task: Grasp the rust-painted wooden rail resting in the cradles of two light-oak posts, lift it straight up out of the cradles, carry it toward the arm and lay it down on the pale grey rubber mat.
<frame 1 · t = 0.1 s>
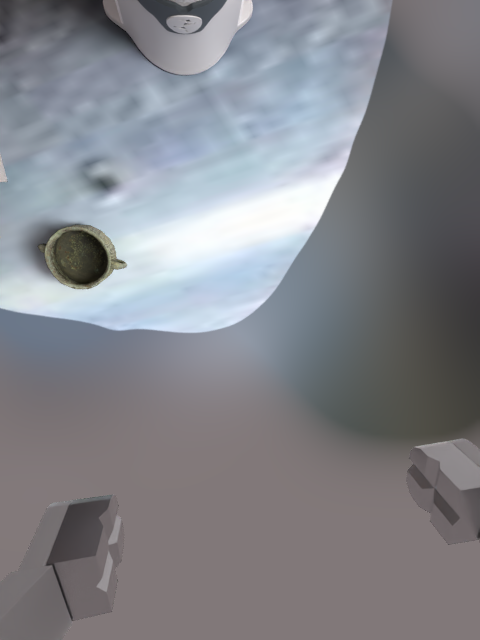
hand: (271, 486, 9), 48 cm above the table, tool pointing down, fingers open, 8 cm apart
vessel: (90, 252, 52), on the table
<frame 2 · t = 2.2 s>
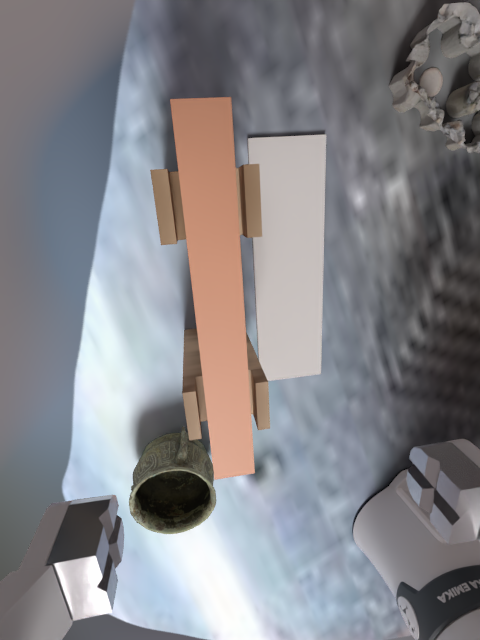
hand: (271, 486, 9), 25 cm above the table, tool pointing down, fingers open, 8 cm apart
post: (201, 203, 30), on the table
vessel: (175, 456, 40), on the table
mat: (288, 271, 34), on the table
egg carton: (441, 92, 31), on the table
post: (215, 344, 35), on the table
rail: (217, 310, 23), point 10 cm above the table, touching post, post
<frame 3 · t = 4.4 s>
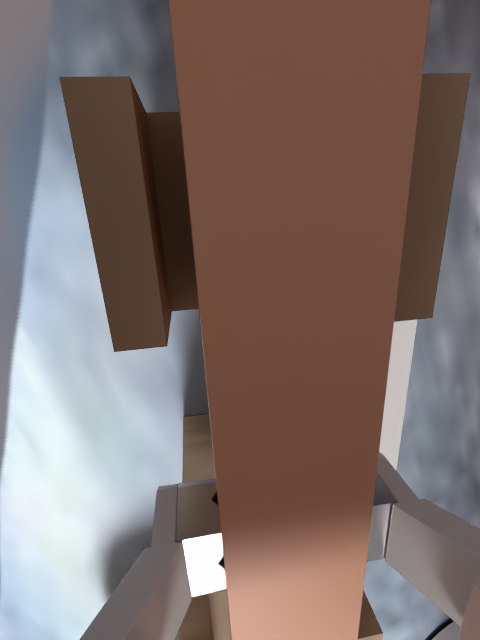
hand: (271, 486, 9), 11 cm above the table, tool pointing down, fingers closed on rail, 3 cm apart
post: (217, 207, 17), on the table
mat: (359, 322, 20), on the table
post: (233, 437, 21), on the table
rail: (266, 466, 10), point 10 cm above the table, touching gripper, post, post
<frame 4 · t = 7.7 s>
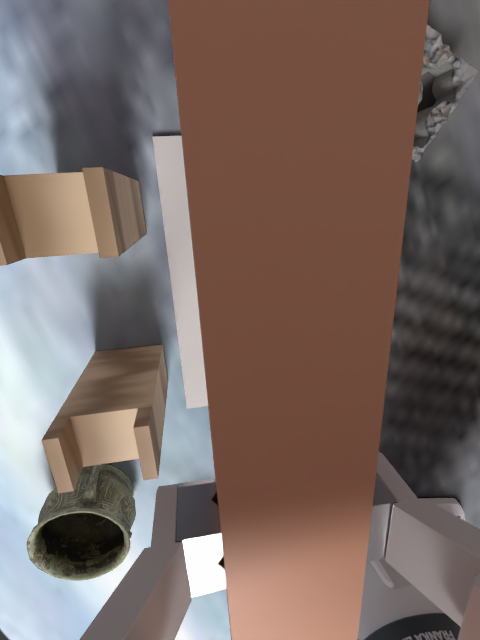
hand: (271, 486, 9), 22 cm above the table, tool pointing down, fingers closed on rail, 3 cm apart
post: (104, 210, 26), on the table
vessel: (97, 488, 36), on the table
mat: (212, 287, 30), on the table
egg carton: (373, 90, 27), on the table
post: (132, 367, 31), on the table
rail: (266, 465, 10), point 22 cm above the table, touching gripper
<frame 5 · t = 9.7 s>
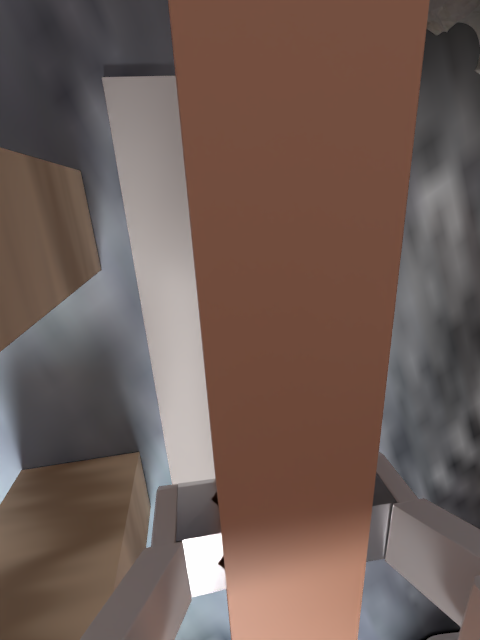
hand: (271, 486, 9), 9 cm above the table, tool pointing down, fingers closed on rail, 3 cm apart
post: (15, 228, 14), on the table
mat: (223, 357, 17), on the table
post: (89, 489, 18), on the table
rail: (266, 465, 10), point 8 cm above the table, touching gripper
when the fingers open (3 cm above the table, at t = 11.3 s): rail drops 2 cm, resting on mat.
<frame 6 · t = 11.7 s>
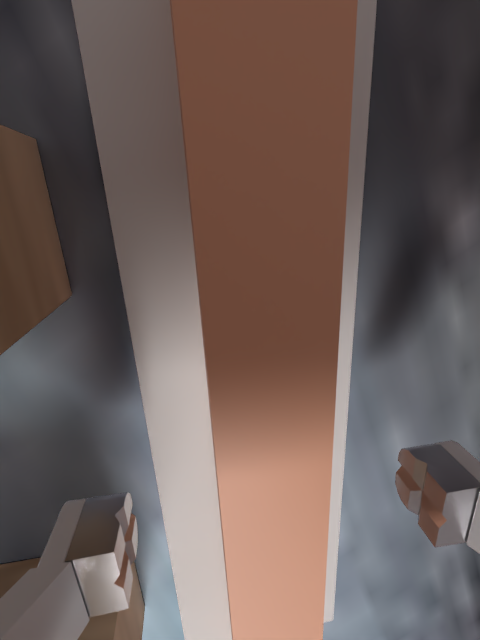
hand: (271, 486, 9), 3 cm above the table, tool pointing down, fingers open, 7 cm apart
mat: (250, 417, 12), on the table
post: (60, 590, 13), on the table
rail: (254, 423, 12), resting on mat
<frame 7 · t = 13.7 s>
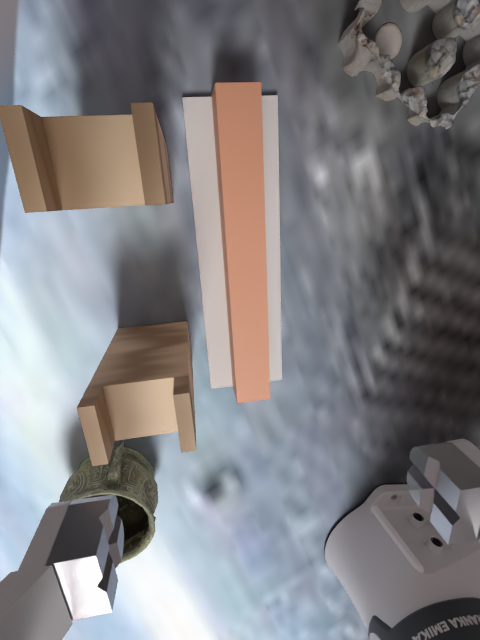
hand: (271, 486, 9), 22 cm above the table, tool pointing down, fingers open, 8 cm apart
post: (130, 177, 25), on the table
vessel: (116, 474, 35), on the table
mat: (239, 260, 29), on the table
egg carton: (402, 55, 26), on the table
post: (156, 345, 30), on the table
rail: (241, 260, 28), resting on mat
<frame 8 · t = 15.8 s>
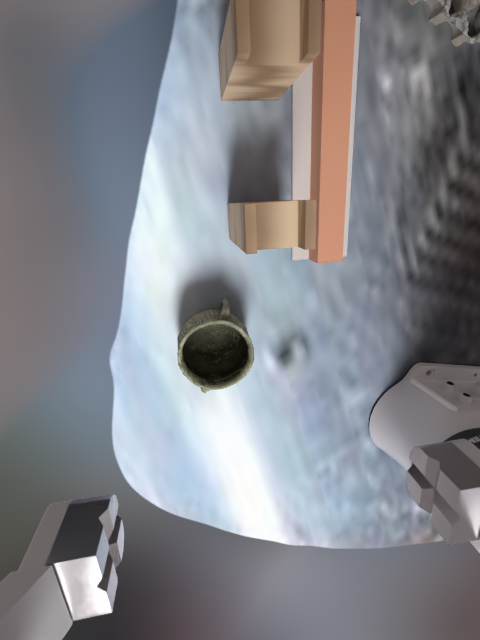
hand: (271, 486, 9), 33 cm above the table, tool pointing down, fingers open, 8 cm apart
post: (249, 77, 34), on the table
vessel: (212, 334, 43), on the table
mat: (321, 150, 38), on the table
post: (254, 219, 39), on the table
rail: (323, 150, 37), resting on mat
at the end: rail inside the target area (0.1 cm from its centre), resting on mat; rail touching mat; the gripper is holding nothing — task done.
